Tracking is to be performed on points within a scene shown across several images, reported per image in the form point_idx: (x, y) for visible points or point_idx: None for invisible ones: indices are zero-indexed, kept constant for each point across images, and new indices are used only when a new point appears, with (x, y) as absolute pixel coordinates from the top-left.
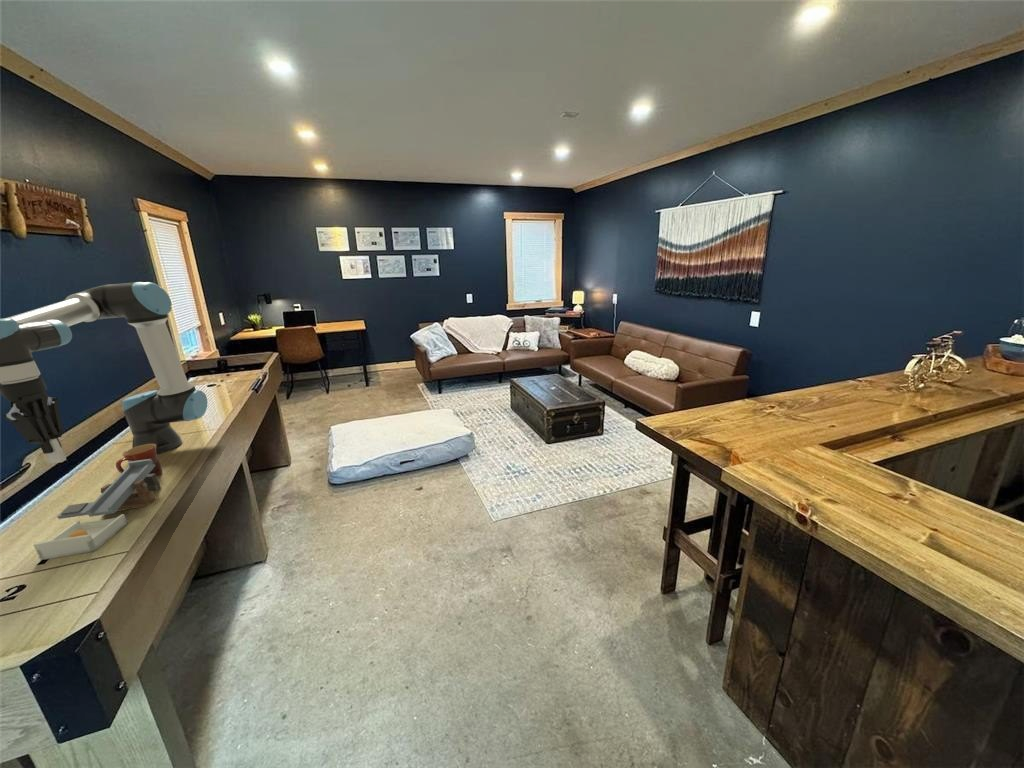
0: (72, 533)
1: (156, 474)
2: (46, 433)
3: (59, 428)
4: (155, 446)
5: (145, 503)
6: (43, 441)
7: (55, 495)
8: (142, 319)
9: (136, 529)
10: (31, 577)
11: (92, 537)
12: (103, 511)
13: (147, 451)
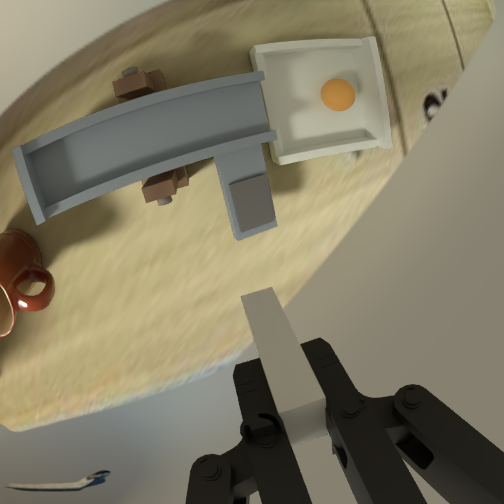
0: (351, 98)
1: (15, 229)
2: (362, 455)
3: (220, 491)
4: None
5: (161, 74)
6: (372, 402)
7: (134, 385)
8: None
9: (278, 7)
10: (411, 108)
11: (354, 44)
12: (260, 98)
13: None
